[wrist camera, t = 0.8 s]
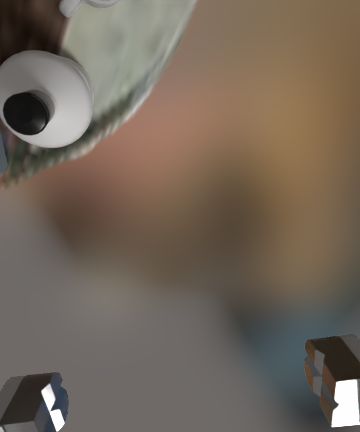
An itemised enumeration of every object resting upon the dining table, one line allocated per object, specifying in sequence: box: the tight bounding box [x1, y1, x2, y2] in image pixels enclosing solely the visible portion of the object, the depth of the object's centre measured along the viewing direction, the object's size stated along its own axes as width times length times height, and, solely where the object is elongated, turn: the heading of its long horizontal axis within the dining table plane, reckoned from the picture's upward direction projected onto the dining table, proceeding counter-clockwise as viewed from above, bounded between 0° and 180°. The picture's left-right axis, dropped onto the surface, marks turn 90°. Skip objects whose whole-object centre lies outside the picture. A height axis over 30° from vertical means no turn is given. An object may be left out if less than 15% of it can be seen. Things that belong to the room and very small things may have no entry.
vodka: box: [0, 50, 94, 148], centre depth 31 cm, size 9×9×30 cm
